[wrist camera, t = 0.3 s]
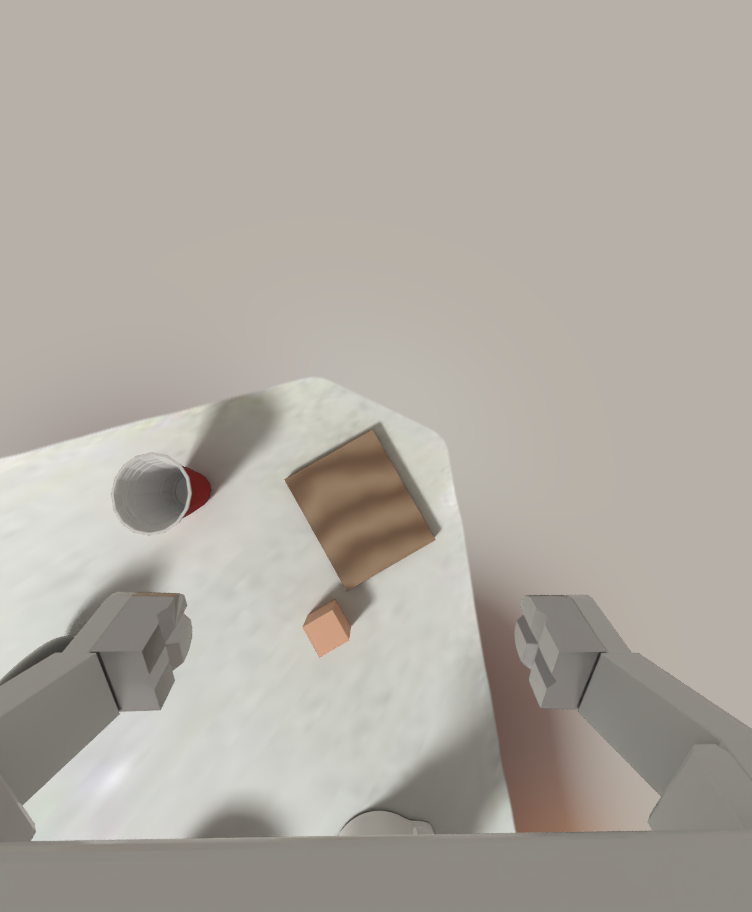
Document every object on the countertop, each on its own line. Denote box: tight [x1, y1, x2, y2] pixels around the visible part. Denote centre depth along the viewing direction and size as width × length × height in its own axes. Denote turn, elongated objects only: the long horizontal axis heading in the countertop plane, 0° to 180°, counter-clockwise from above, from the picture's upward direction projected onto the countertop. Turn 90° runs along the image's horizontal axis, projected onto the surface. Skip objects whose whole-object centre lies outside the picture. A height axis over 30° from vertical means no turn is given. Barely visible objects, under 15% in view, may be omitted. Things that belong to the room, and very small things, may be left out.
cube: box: [303, 599, 351, 657], centre depth 59 cm, size 5×5×5 cm
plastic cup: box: [111, 452, 211, 536], centre depth 56 cm, size 11×11×12 cm
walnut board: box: [284, 430, 435, 591], centre depth 61 cm, size 20×16×2 cm
